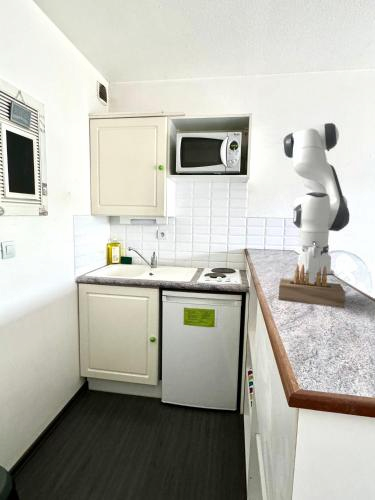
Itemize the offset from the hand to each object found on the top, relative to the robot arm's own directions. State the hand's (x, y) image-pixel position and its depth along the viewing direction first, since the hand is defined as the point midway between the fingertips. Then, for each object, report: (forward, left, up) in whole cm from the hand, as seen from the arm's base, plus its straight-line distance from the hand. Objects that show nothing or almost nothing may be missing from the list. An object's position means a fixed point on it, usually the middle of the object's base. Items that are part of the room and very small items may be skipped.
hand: (310, 279), depth 96 cm
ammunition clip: (0, 0, -7) cm, 7 cm away
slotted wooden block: (0, 0, -7) cm, 7 cm away
